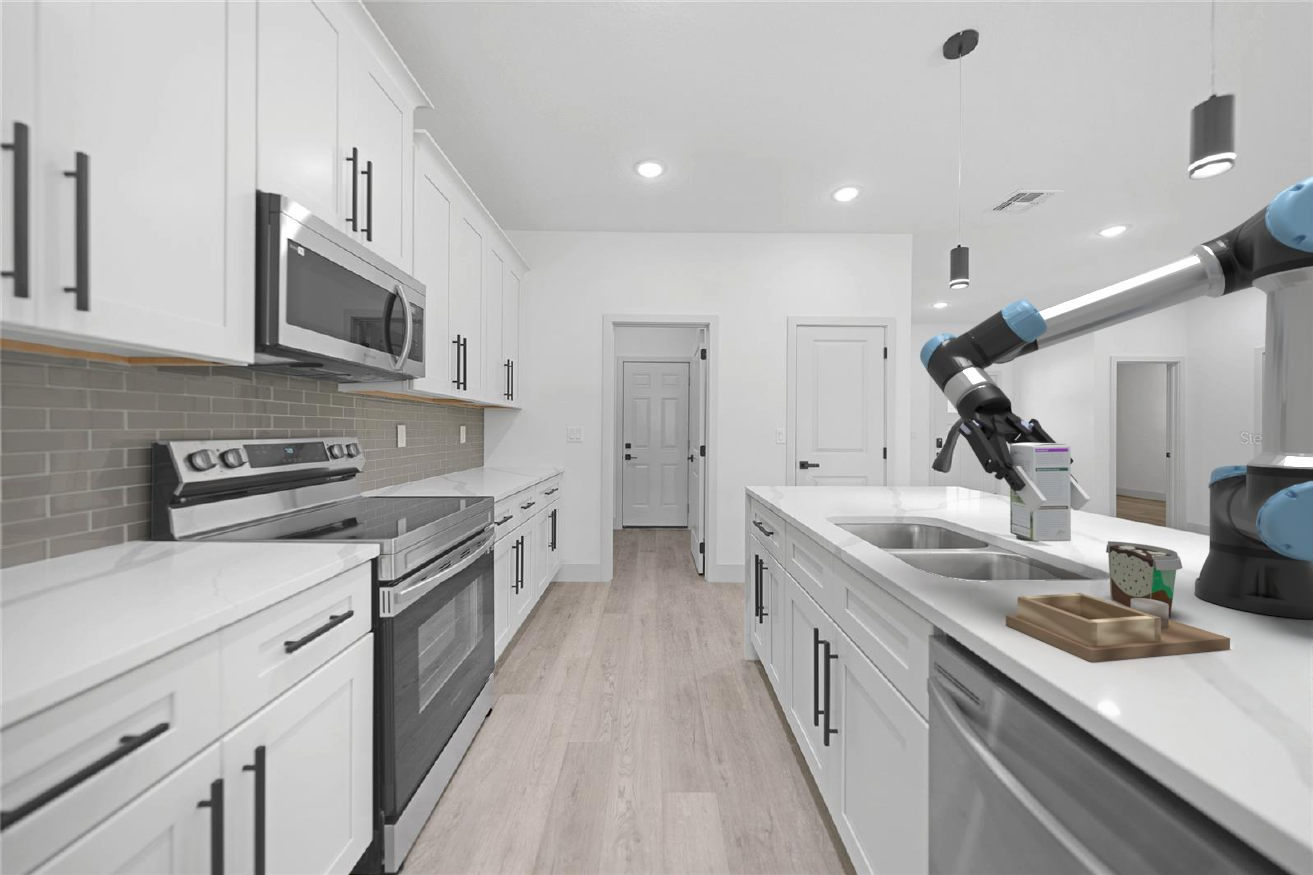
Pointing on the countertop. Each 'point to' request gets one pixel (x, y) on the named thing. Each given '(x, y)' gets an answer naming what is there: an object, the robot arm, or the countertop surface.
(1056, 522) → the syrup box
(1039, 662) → the countertop surface
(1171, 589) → the food container
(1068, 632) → the wooden tray on board
